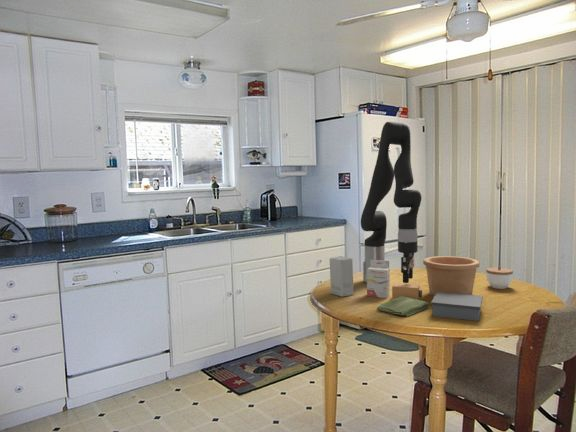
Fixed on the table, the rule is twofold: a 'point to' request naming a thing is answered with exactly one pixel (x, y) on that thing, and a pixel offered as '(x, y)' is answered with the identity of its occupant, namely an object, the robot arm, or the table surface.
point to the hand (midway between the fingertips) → (407, 280)
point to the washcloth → (403, 306)
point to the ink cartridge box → (378, 279)
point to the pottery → (450, 274)
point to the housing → (406, 291)
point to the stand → (457, 305)
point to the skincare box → (341, 276)
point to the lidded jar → (499, 277)
